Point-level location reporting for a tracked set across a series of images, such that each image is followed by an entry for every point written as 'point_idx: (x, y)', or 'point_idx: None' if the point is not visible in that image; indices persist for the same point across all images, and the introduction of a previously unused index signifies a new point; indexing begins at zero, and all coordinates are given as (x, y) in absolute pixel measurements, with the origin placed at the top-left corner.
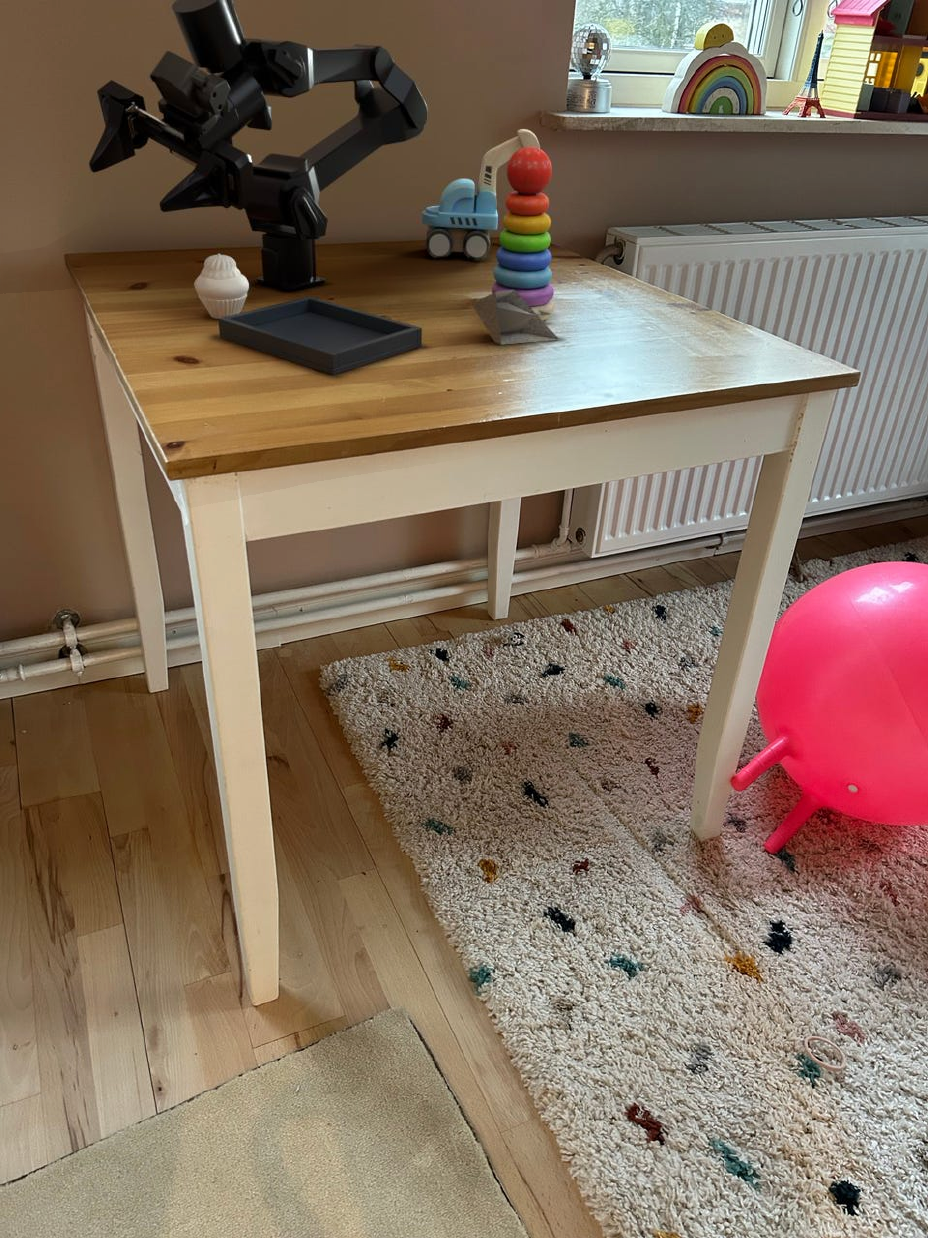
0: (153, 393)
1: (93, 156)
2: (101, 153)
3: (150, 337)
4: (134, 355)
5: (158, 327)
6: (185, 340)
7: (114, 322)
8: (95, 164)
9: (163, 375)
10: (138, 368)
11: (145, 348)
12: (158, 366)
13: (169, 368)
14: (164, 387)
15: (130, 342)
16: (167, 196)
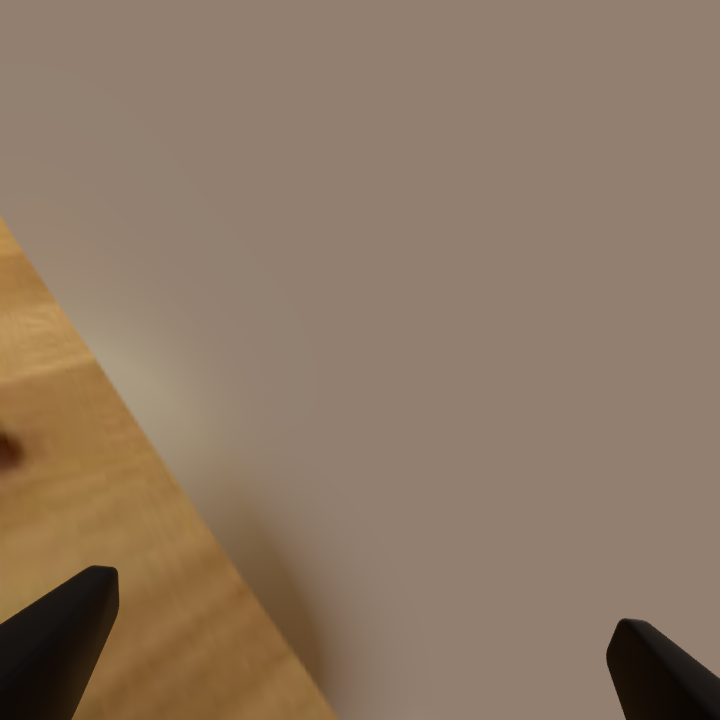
0: (23, 289)
1: (685, 659)
2: (692, 696)
3: (137, 588)
4: (128, 454)
5: (146, 693)
6: (20, 597)
7: (286, 681)
8: (632, 655)
9: (24, 360)
10: (92, 388)
11: (119, 502)
12: (50, 402)
13: (19, 394)
14: (7, 310)
15: (172, 533)
16: (62, 607)
